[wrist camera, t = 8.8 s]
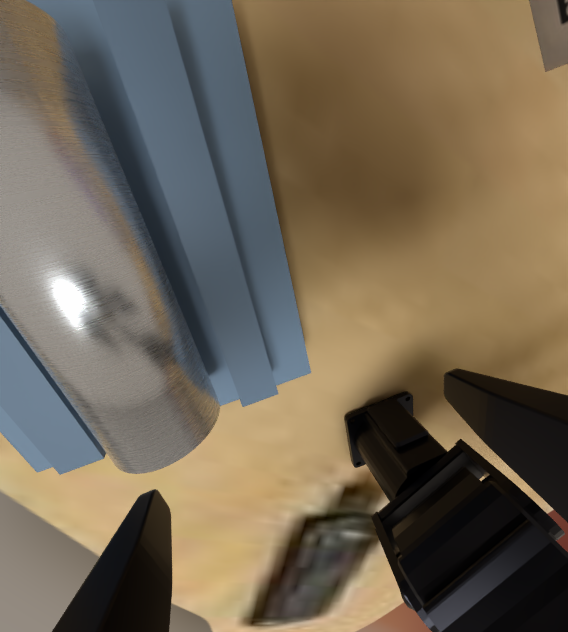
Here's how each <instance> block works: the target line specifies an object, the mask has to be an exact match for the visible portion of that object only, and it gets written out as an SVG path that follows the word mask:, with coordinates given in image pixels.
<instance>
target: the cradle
mask: <svg viewBox="0 0 568 632" xmlns="http://www.w3.org/2000/svg"><path fill="white" fill-rule="evenodd" d="M26 1H28V2H30V3H32V4H34V5H35V6H37V7H38V8H40V9H41V10H43V11H45V12H46V13H47V14H48V15H50V16H51V17H52V18H53V19H55V20H56V21H57V22H58V24H59V25H60V26H61V27H62V28H63V30H64V31H65V33H66V35H67V37H68V39H69V42H70V44H71V47H72V49H73V51H74V54H75V56H76V59H77V61H78V63H79V66H80V68H81V71H82V73H83V75H84V78H85V80H86V83H87V85H88V87H89V90H90V92H91V95H92V97H93V99H94V102H95V104H96V107H97V109H98V112H99V114H100V116H101V119H102V121H103V124H104V126H105V128H106V131H107V133H108V136H109V138H110V140H111V143H112V145H113V148H114V150H115V152H116V155H117V157H118V160H119V162H120V164H121V167H122V169H123V172H124V174H125V176H126V179H127V181H128V184H129V186H130V188H131V191H132V193H133V196H134V198H135V200H136V203H137V205H138V208H139V210H140V212H141V215H142V217H143V220H144V222H145V224H146V227H147V229H148V232H149V234H150V236H151V239H152V241H153V244H154V246H155V248H156V251H157V253H158V256H159V258H160V260H161V263H162V265H163V268H164V270H165V272H166V275H167V277H168V280H169V282H170V284H171V287H172V289H173V292H174V294H175V296H176V299H177V301H178V304H179V306H180V308H181V311H182V313H183V316H184V318H185V320H186V323H187V325H188V328H189V330H190V332H191V335H192V337H193V340H194V342H195V344H196V347H197V349H198V352H199V354H200V356H201V359H202V361H203V364H204V366H205V368H206V371H207V373H208V376H209V378H210V380H211V383H212V385H213V388H214V390H215V392H216V395H217V397H218V400H219V404H220V406H221V405H224V404H227V403H230V402H232V401H235V400H238V399H240V401H241V404H242V407H244V406H247V405H250V404H252V403H255V402H258V401H261V400H263V399H266V398H269V397H271V396H274V395H277V394H278V391H277V387H276V385H279V384H282V383H285V382H287V381H290V380H293V379H296V378H298V377H301V376H304V375H307V374H309V373H311V370H310V366H309V361H308V356H307V352H306V347H305V342H304V337H303V333H302V328H301V323H300V319H299V314H298V309H297V305H296V300H295V295H294V291H293V286H292V281H291V277H290V272H289V267H288V262H287V258H286V253H285V248H284V244H283V239H282V234H281V230H280V225H279V220H278V216H277V211H276V206H275V201H274V197H273V192H272V187H271V183H270V178H269V173H268V169H267V164H266V159H265V155H264V150H263V145H262V141H261V136H260V131H259V126H258V122H257V117H256V112H255V108H254V103H253V98H252V94H251V89H250V84H249V80H248V75H247V70H246V65H245V61H244V56H243V51H242V47H241V42H240V37H239V33H238V28H237V23H236V19H235V14H234V9H233V4H232V0H26ZM0 432H1V433H2V434H3V436H4V437H5V438H6V439H7V440H8V441H9V442H10V443H11V444H12V445H13V447H14V448H15V449H16V450H17V451H18V452H19V453H20V454H21V455H22V456H23V457H24V459H25V460H26V461H27V462H28V463H29V464H30V465H31V466H32V467H33V468H34V470H35V471H36V472H40V471H43V470H46V469H48V468H51V467H54V468H55V470H56V471H57V472H58V473H59V474H60V475H61V474H63V473H66V472H69V471H71V470H74V469H77V468H79V467H82V466H85V465H88V464H90V463H93V462H96V461H98V460H101V459H104V457H105V454H106V452H105V450H104V449H103V448H102V446H101V445H100V443H99V442H98V441H97V439H96V438H95V437H94V435H93V434H92V432H91V431H90V430H89V428H88V427H87V425H86V424H85V423H84V421H83V420H82V419H81V417H80V416H79V414H78V413H77V412H76V410H75V409H74V407H73V406H72V405H71V403H70V402H69V401H68V399H67V398H66V396H65V395H64V394H63V392H62V391H61V389H60V388H59V387H58V385H57V384H56V382H55V381H54V380H53V378H52V377H51V376H50V374H49V373H48V371H47V370H46V369H45V367H44V366H43V364H42V363H41V362H40V360H39V359H38V358H37V356H36V355H35V353H34V352H33V351H32V349H31V348H30V346H29V345H28V344H27V342H26V341H25V340H24V338H23V337H22V335H21V334H20V333H19V331H18V330H17V328H16V327H15V326H14V324H13V323H12V322H11V320H10V319H9V317H8V316H7V315H6V313H5V312H4V310H3V309H2V308H1V306H0Z"/></svg>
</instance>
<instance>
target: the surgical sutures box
mask: <svg viewBox="0 0 568 632" xmlns="http://www.w3.org/2000/svg"><path fill="white" fill-rule="evenodd" d="M529 1H530V6H531V10H532V15H533V19H534V23H535V28H536V32H537V37H538V41H539V46H540V50H541V54H542V59H543V63H544V68H545V72H547V71H549V70H552V69H554V68H557V67H560V66H562V65H565V64H567V63H568V0H529Z"/></svg>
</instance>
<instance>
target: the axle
mask: <svg viewBox="0 0 568 632" xmlns="http://www.w3.org/2000/svg"><path fill="white" fill-rule="evenodd" d="M0 306H1V308H2V309H3V310H4V312H5V313H6V315H7V316H8V317H9V319H10V320H11V322H12V323H13V324H14V326H15V327H16V328H17V330H18V331H19V333H20V334H21V335H22V337H23V338H24V340H25V341H26V342H27V344H28V345H29V346H30V348H31V349H32V351H33V352H34V353H35V355H36V356H37V358H38V359H39V360H40V362H41V363H42V364H43V366H44V367H45V369H46V370H47V371H48V373H49V374H50V376H51V377H52V378H53V380H54V381H55V382H56V384H57V385H58V387H59V388H60V389H61V391H62V392H63V394H64V395H65V396H66V398H67V399H68V401H69V402H70V403H71V405H72V406H73V407H74V409H75V410H76V412H77V413H78V414H79V416H80V417H81V419H82V420H83V421H84V423H85V424H86V425H87V427H88V428H89V430H90V431H91V432H92V434H93V435H94V437H95V438H96V439H97V441H98V442H99V443H100V445H101V446H102V448H103V449H104V450H105V452H106V453H107V455H108V456H109V457H110V459H111V460H112V461H113V463H114V464H115V466H116V467H117V468H118V469H120V470H122V471H124V472H127V473H133V474H140V473H147V472H152V471H155V470H159V469H161V468H164V467H166V466H168V465H170V464H172V463H174V462H176V461H178V460H179V459H181V458H183V457H184V456H186V455H187V454H188V453H190V452H191V451H192V450H193V449H195V448H196V447H197V446H198V445H199V444H200V443H201V442H202V441H203V440H204V439H205V438H206V436H207V435H208V434H209V433H210V431H211V430H212V428H213V427H214V425H215V423H216V421H217V418H218V416H219V411H220V404H219V400H218V397H217V395H216V392H215V390H214V388H213V385H212V383H211V380H210V378H209V376H208V373H207V371H206V368H205V366H204V364H203V361H202V359H201V356H200V354H199V352H198V349H197V347H196V344H195V342H194V340H193V337H192V335H191V332H190V330H189V328H188V325H187V323H186V320H185V318H184V316H183V313H182V311H181V308H180V306H179V304H178V301H177V299H176V296H175V294H174V292H173V289H172V287H171V284H170V282H169V280H168V277H167V275H166V272H165V270H164V268H163V265H162V263H161V260H160V258H159V256H158V253H157V251H156V248H155V246H154V244H153V241H152V239H151V236H150V234H149V232H148V229H147V227H146V224H145V222H144V220H143V217H142V215H141V212H140V210H139V208H138V205H137V203H136V200H135V198H134V196H133V193H132V191H131V188H130V186H129V184H128V181H127V179H126V176H125V174H124V172H123V169H122V167H121V164H120V162H119V160H118V157H117V155H116V152H115V150H114V148H113V145H112V143H111V140H110V138H109V136H108V133H107V131H106V128H105V126H104V124H103V121H102V119H101V116H100V114H99V112H98V109H97V107H96V104H95V102H94V99H93V97H92V95H91V92H90V90H89V87H88V85H87V83H86V80H85V78H84V75H83V73H82V71H81V68H80V66H79V63H78V61H77V59H76V56H75V54H74V51H73V49H72V47H71V44H70V42H69V39H68V37H67V35H66V33H65V31H64V30H63V28H62V27H61V26H60V25H59V24H58V22H57V21H56V20H55V19H53V18H52V17H51V16H50V15H48V14H47V13H46V12H45V11H43V10H41V9H40V8H38V7H37V6H35V5H34V4H32V3H30V2H28V1H26V0H0Z"/></svg>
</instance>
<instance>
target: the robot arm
mask: <svg viewBox="0 0 568 632" xmlns="http://www.w3.org/2000/svg"><path fill="white" fill-rule="evenodd" d="M444 396H445V398H446V399H447V401H448V402H449V403H450V404H451V405H452V407H453V408H454V409H455V410H456V411H457V412H458V413H459V415H460V416H461V417H462V418H463V419H464V420H465V421H466V423H467V424H468V425H469V426H470V427H471V428H472V429H473V430H474V432H475V433H476V434H477V435H478V436H479V437H480V438H481V439H482V440H483V442H484V443H485V444H486V445H487V446H488V447H489V448H490V449H492V450H493V451H494V452H495V453H496V454H497V455H498V456H499V457H500V458H501V459H502V460H503V461H504V462H505V463H506V464H507V465H508V466H509V467H510V468H511V469H512V470H513V471H514V472H515V473H517V474H518V475H519V476H520V477H521V478H522V479H523V480H524V481H525V482H526V483H527V484H528V485H529V486H530V487H531V488H532V489H533V490H534V491H535V492H536V493H537V494H538V495H539V496H541V497H542V498H543V499H544V500H545V501H546V502H547V503H548V504H549V505H550V506H551V507H552V508H553V509H554V510H555V511H556V512H557V513H558V514H559V515H561V517H562V518H564V519H565V520H566V521H567V522H568V395H564V394H560V393H555V392H551V391H547V390H543V389H539V388H535V387H531V386H527V385H523V384H519V383H515V382H511V381H507V380H502V379H498V378H494V377H490V376H486V375H482V374H478V373H474V372H470V371H466V370H462V369H453V370H451V371H448V372H446V373H445V374H444ZM345 424H346V430H347V436H348V442H349V449H350V455H351V461H352V464H353V465H354V467H356V468H357V467H360V466H363V465H365V464H366V465H367V466H368V468H369V469H370V471H371V473H372V474H373V476H374V477H375V479H376V480H377V482H378V484H379V485H380V487H381V488H382V490H383V491H384V493H385V494H386V496H387V498H388V499H389V501H390V503H388V504H387V505H386V506H385V507H384V508H383V509H381V510H380V511H379V512H376V513H375V514H373V515H372V516H371V517H372V520H373V522H374V525H375V527H376V529H375V530H376V533H377V535H378V537H379V540H380V542H381V545H382V547H383V550H384V552H385V554H386V557H387V559H388V562H389V564H390V567H391V569H392V571H393V574H394V576H395V579H396V581H397V584H398V586H399V588H400V592H401V595H402V598H403V600H404V602H405V603H406V605H407V606H408V607H409V608H411V609H413V610H415V611H416V612H417V614H418V615H419V617H420V618H421V619H422V621H423V622H424V623H425V624H426V626H427V627H428V628H429V629H430V630H431V631H432V632H568V552H567V551H565V550H564V549H563V548H562V547H561V546H560V545H559V544H558V543H557V542H556V540H558V539H559V538H560V537H562V536H563V535H564V534H565V533H564V531H563V530H562V529H561V528H560V527H559V526H558V525H557V524H556V522H555V521H554V520H553V519H552V518H551V517H550V516H548V514H547V513H546V512H544V511H543V510H542V509H541V508H540V507H539V506H538V505H537V504H536V503H535V502H534V501H533V500H532V499H531V498H530V497H529V496H528V495H526V494H525V493H524V492H523V491H522V490H521V489H520V488H519V487H518V486H516V485H515V484H514V483H513V482H512V481H511V480H509V479H508V478H507V477H506V476H505V475H503V474H502V473H501V472H500V471H499V470H498V469H496V468H495V467H494V466H493V465H492V464H490V463H489V462H488V461H487V460H486V459H484V458H483V457H482V456H481V455H480V454H478V453H477V452H476V451H475V450H474V449H472V448H471V447H470V446H469V445H468V444H466V443H465V442H464V441H463V440H462V439H460V440H459V441H457V442H456V443H455V444H456V445H455V446H454V447H453V448H452V449H451V450H449V451H448V452H447V451H446V450H445V449H444V448H443V447H442V446H441V445H440V444H439V443H438V442H437V441H436V440H435V439H434V438H433V437H432V436H431V435H430V434H429V433H428V431H427V430H426V429H425V428H424V427H423V426H422V425H421V424H420V423H419V422H418V421H417V420H416V419H415V418H414V417H413V396H412V395H411V394H410V393H409V392H407V391H406V392H403V393H401V394H398V395H396V396H393V397H391V398H388V399H386V400H383V401H381V402H378V403H376V404H373V405H371V406H368V407H366V408H363V409H361V410H358V411H356V412H353V413H351V414H349V415H347V416H346V418H345ZM482 476H484V477H485V479H483V480H482V481H480V480H479V479H480V478H481V477H482ZM171 597H172V539H171V512H170V509H169V506H168V505H167V503H166V502H165V500H164V499H163V497H162V496H161V494H160V493H159V491H158V490H151V491H149V492H146V493H144V494H142V495H140V496H139V497H138V499H137V500H136V502H135V503H134V505H133V506H132V508H131V510H130V511H129V513H128V514H127V516H126V517H125V519H124V520H123V522H122V524H121V525H120V527H119V528H118V530H117V531H116V533H115V534H114V536H113V537H112V539H111V541H110V542H109V544H108V545H107V547H106V548H105V550H104V551H103V553H102V555H101V556H100V558H99V559H98V561H97V562H96V564H95V565H94V567H93V569H92V570H91V572H90V574H89V575H88V576H87V578H86V579H85V581H84V583H83V584H82V586H81V587H80V589H79V590H78V592H77V593H76V595H75V597H74V598H73V600H72V601H71V603H70V604H69V606H68V607H67V609H66V611H65V612H64V614H63V615H62V617H61V618H60V620H59V622H58V623H57V625H56V626H55V628H54V629H53V631H52V632H169V625H170V611H171Z"/></svg>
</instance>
